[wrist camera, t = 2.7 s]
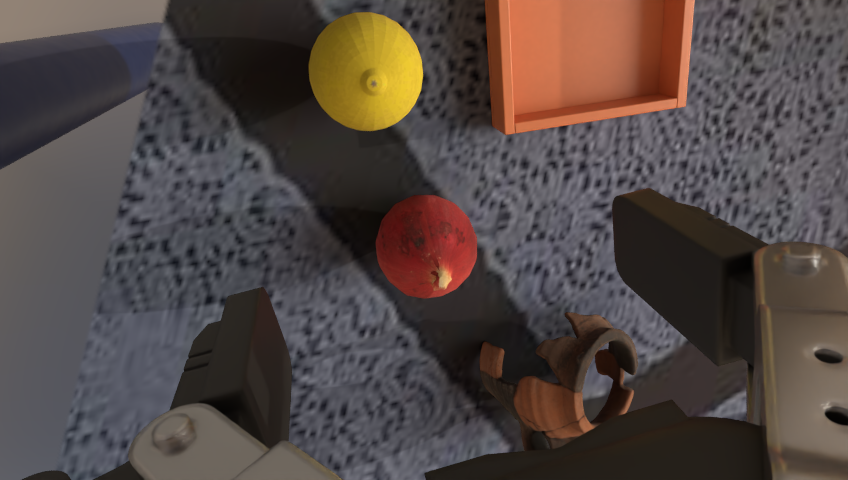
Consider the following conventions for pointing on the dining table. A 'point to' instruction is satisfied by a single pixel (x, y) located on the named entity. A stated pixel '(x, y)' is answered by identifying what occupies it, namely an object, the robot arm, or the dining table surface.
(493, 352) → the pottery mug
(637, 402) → the dining table surface
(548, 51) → the terracotta tray
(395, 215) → the onion
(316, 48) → the lemon
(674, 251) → the robot arm
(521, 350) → the dining table surface
